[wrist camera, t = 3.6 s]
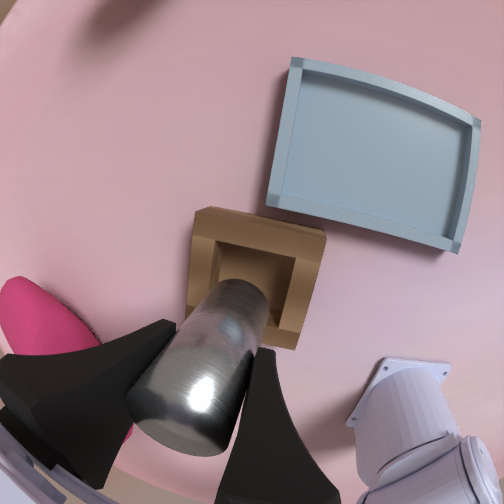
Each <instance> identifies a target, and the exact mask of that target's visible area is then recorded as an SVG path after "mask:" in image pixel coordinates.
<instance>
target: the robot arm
mask: <svg viewBox="0 0 504 504" xmlns="http://www.w3.org/2000/svg"><path fill="white" fill-rule="evenodd" d="M175 333H176V323H174V322H171V321H168V320H165V319H161V320H159V321H157V322H154V323H152V324H150V325H148V326H146V327H143V328H141V329H139V330H137V331H134V332H132V333H130V334H128V335H125V336H123V337H120V338H118V339H115V340H112V341H110V342H107V343H104V344H101V345H98V346H95V347H91V348H87V349H83V350H79V351H73V352H67V353H60V354H51V355H19V354H7V355H5V356H4V357H3V358H1V359H0V398H1V399H2V401H3V403H4V404H5V406H4V407H3V408H2V409H1V410H0V504H64V502H65V501H66V499H67V498H66V496H65V495H63V494H62V493H61V492H59V491H58V490H57V489H56V488H55V487H54V486H53V485H51V484H50V483H49V482H48V481H47V480H46V479H45V478H44V477H43V476H42V475H41V474H40V473H39V472H38V471H37V470H36V469H34V465H33V463H34V464H35V465H36V466H37V467H39V468H40V469H41V470H42V471H43V472H44V473H46V474H47V475H48V476H49V477H50V478H52V479H53V480H54V481H56V482H57V483H58V484H59V485H61V486H62V487H64V488H65V489H66V490H68V491H69V492H70V493H72V494H74V495H75V496H76V497H78V498H79V499H81V500H82V501H84V502H85V503H87V504H119V503H117V502H115V501H113V500H112V499H110V498H108V497H106V496H104V495H103V494H101V493H99V492H98V491H96V490H98V489H102V488H103V487H104V484H105V481H106V479H107V477H108V474H109V472H110V469H111V467H112V464H113V462H114V460H115V458H116V456H117V454H118V451H119V449H120V447H121V445H122V444H123V442H124V440H125V438H126V436H127V434H128V432H129V430H130V428H131V427H132V425H133V423H134V421H133V420H132V418H131V417H130V415H129V413H128V411H127V409H126V406H125V397H126V395H127V393H128V392H129V390H130V389H131V388H132V387H133V385H134V384H135V383H136V382H137V380H138V379H139V378H140V377H141V375H142V374H143V373H144V372H145V370H146V369H147V368H148V367H149V365H150V364H151V363H152V362H153V360H154V359H155V358H156V357H157V355H158V354H159V353H160V352H161V350H162V349H163V348H164V347H165V345H166V344H167V343H168V342H169V340H170V339H171V338H172V337H173V335H174V334H175ZM384 367H386V368H384ZM450 370H451V365H450V364H449V363H437V362H425V361H415V360H406V359H397V358H385V359H384V360H383V361H382V362H381V364H380V366H379V368H378V370H377V372H376V373H375V375H374V377H373V379H372V381H371V382H370V384H369V386H368V387H367V389H366V391H365V393H364V394H363V396H362V398H361V399H360V401H359V402H358V404H357V406H356V407H355V409H354V410H353V412H352V413H351V415H350V416H349V418H348V419H347V421H346V426H347V427H354V434H355V447H356V463H357V472H358V475H359V477H360V478H361V480H362V481H363V482H364V483H365V484H366V485H367V486H369V490H368V491H366V492H364V493H363V494H362V495H361V496H360V497H359V499H358V501H357V503H356V504H502V494H501V491H500V487H499V481H498V476H497V473H496V469H495V467H494V464H493V461H492V459H491V457H490V454H489V452H488V450H487V448H486V447H485V445H484V443H483V442H482V440H481V439H480V438H479V437H477V436H471V435H467V436H466V437H465V438H464V439H463V438H462V437H461V434H460V432H459V429H458V427H457V424H456V422H455V419H454V417H453V414H452V412H451V410H450V407H449V405H448V403H447V400H446V398H445V396H444V394H443V392H442V389H441V387H440V385H441V384H442V382H443V381H444V379H445V378H446V376H447V375H448V373H449V371H450ZM354 417H355V418H354ZM94 489H95V490H94ZM214 504H341V498H340V493H339V491H338V489H337V488H336V487H335V486H334V485H333V484H332V483H331V482H330V481H329V479H328V478H327V477H326V476H325V474H324V473H323V472H322V471H321V469H320V468H319V467H318V465H317V464H316V462H315V461H314V460H313V458H312V457H311V455H310V453H309V452H308V450H307V448H306V447H305V445H304V443H303V442H302V440H301V438H300V436H299V434H298V432H297V430H296V428H295V426H294V424H293V422H292V420H291V417H290V415H289V412H288V410H287V407H286V404H285V401H284V398H283V394H282V391H281V387H280V383H279V379H278V374H277V367H276V353H275V351H274V350H271V349H267V348H262V347H258V349H257V352H256V355H255V358H254V362H253V366H252V371H251V375H250V379H249V384H248V387H247V391H246V395H245V399H244V403H243V408H242V413H241V418H240V423H239V429H238V434H237V437H236V440H235V443H234V446H233V449H232V451H231V454H230V457H229V460H228V463H227V466H226V469H225V471H224V474H223V477H222V480H221V482H220V485H219V488H218V491H217V495H216V499H215V502H214Z"/></svg>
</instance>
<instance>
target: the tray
mask: <svg viewBox="0 0 504 504" xmlns="http://www.w3.org/2000/svg"><path fill="white" fill-rule="evenodd" d="M480 132H481V120H479V119H478V118H476V117H474V116H472V115H471V114H469V113H467V112H465V111H463V110H461V109H459V108H457V107H455V106H453V105H451V104H449V103H447V102H445V101H443V100H441V99H439V98H436V97H434V96H432V95H430V94H427V93H425V92H422V91H420V90H418V89H415V88H412V87H410V86H407V85H405V84H402V83H399V82H396V81H393V80H390V79H387V78H384V77H381V76H378V75H375V74H371V73H368V72H364V71H361V70H357V69H353V68H349V67H345V66H341V65H336V64H332V63H327V62H322V61H317V60H311V59H305V58H299V57H292V58H291V63H290V69H289V75H288V81H287V86H286V92H285V98H284V103H283V109H282V115H281V120H280V126H279V131H278V137H277V143H276V148H275V154H274V159H273V165H272V170H271V176H270V181H269V187H268V192H267V198H266V203H265V205H266V206H271V207H276V208H281V209H286V210H290V211H295V212H300V213H304V214H309V215H313V216H318V217H322V218H326V219H331V220H335V221H339V222H343V223H347V224H351V225H355V226H359V227H363V228H367V229H371V230H375V231H379V232H383V233H387V234H390V235H394V236H398V237H401V238H405V239H408V240H412V241H415V242H419V243H422V244H426V245H429V246H433V247H436V248H439V249H443V250H446V251H449V252H452V253H456V254H458V252H459V249H460V246H461V242H462V239H463V235H464V231H465V228H466V224H467V220H468V215H469V211H470V206H471V201H472V196H473V191H474V185H475V179H476V172H477V165H478V156H479V146H480Z"/></svg>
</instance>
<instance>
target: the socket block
mask: <svg viewBox="0 0 504 504" xmlns="http://www.w3.org/2000/svg"><path fill="white" fill-rule="evenodd" d="M326 240H327V238H326V235H325V232H324V230H323V229H319V228H314V227H310V226H306V225H301V224H296V223H292V222H287V221H283V220H278V219H273V218H268V217H264V216H259V215H254V214H249V213H244V212H239V211H234V210H228V209H223V208H218V207H213V206H209V207H207V208H204V209H201V210H198V211H196V212H195V218H194V227H193V235H192V245H191V255H190V265H189V276H188V289H187V302H186V318H185V321H186V319H187V318H188V317H189V316H190V314H191V313H192V312H193V311H194V309H195V308H196V307H197V306H198V304H199V303H200V302H201V301H202V300H203V298H204V297H205V296H206V295H207V293H208V292H209V291H210V290H211V288H212V287H213V286H214V285H216V284H217V283H218V282H220V281H223V280H226V279H242V280H245V281H248V282H250V283H252V284H254V285H255V286H256V287H258V288H259V289H260V290H261V291H262V292H263V294H264V295H265V297H266V299H267V301H268V304H269V317H268V321H267V324H266V327H265V331H264V334H263V338H262V341H261V343H264V344H268V345H272V346H277V347H281V348H286V349H291V350H295V348H296V345H297V342H298V339H299V336H300V333H301V330H302V327H303V323H304V320H305V317H306V313H307V310H308V307H309V303H310V300H311V297H312V293H313V289H314V286H315V282H316V279H317V275H318V271H319V268H320V264H321V260H322V256H323V252H324V248H325V244H326Z"/></svg>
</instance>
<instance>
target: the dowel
mask: <svg viewBox="0 0 504 504" xmlns="http://www.w3.org/2000/svg"><path fill="white" fill-rule="evenodd" d="M268 317H269V304H268V301H267V299H266V297H265V295H264V294H263V292H262V291H261V290H260V289H259V288H258V287H256V286H255V285H254V284H252V283H250V282H248V281H245V280H242V279H226V280H223V281H220V282H218V283H217V284H216V285H214V286H213V287H212V288H211V290H210V291H209V292H208V293H207V295H206V296H205V297H204V298H203V300H202V301H201V302H200V303H199V304H198V306H197V307H196V308H195V309H194V311H193V312H192V313H191V314H190V316H189V317H188V318H187V319H186V321H185V322H184V323H183V324H182V325H181V327H180V328H179V329H178V330H177V332H176V333H175V334H174V335H173V337H172V338H171V339H170V340H169V342H168V343H167V344H166V345H165V347H164V348H163V349H162V350H161V352H160V353H159V354H158V355H157V357H156V358H155V359H154V360H153V362H152V363H151V364H150V365H149V367H148V368H147V369H146V370H145V372H144V373H143V374H142V375H141V377H140V378H139V379H138V380H137V382H136V383H135V384H134V385H133V387H132V388H131V389H130V390H129V392H128V393H127V395H126V397H125V406H126V409H127V411H128V413H129V415H130V417H131V418H132V420H133V421H134V422H135V423H136V425H137V426H138V427H139V428H140V429H141V430H142V431H143V432H145V433H146V434H147V435H148V436H150V437H151V438H152V439H154V440H156V441H157V442H159V443H160V444H162V445H164V446H166V447H168V448H170V449H173V450H175V451H178V452H181V453H184V454H188V455H193V456H202V457H208V456H215V455H219V454H221V453H223V452H224V451H225V450H226V449H227V448H228V445H229V442H230V439H231V436H232V433H233V430H234V427H235V424H236V421H237V418H238V415H239V412H240V409H241V406H242V403H243V400H244V397H245V394H246V390H247V387H248V384H249V379H250V375H251V371H252V366H253V362H254V358H255V355H256V352H257V349H258V347H260V345H261V341H262V338H263V334H264V331H265V327H266V324H267V321H268Z"/></svg>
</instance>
